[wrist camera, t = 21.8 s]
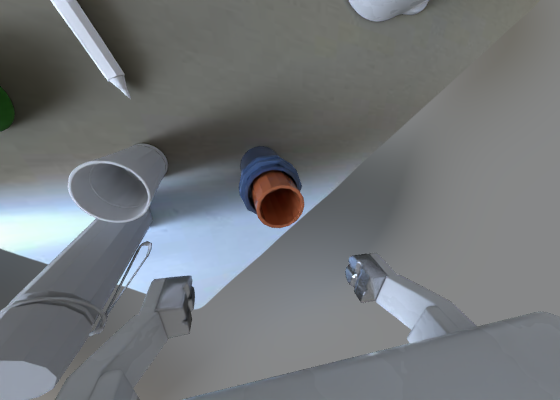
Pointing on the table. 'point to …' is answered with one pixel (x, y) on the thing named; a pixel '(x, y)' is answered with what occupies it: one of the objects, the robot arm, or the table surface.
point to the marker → (91, 42)
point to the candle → (5, 110)
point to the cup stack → (261, 171)
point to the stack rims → (258, 163)
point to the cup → (118, 183)
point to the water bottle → (65, 306)
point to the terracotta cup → (276, 199)
